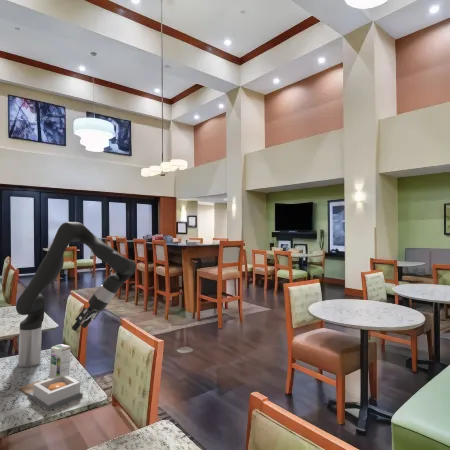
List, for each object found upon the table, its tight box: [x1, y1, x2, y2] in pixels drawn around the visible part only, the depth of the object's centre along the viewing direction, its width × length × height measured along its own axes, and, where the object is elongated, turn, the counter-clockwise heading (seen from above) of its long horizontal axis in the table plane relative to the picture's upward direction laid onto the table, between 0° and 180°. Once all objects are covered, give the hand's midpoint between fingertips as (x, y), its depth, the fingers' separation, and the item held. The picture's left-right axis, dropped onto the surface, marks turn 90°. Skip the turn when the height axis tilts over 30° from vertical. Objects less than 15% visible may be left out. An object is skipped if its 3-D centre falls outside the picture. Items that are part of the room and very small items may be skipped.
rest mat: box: [18, 380, 42, 396], centre depth 134 cm, size 8×8×1 cm
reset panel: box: [27, 374, 84, 412], centre depth 127 cm, size 16×13×6 cm
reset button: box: [48, 382, 66, 391], centre depth 127 cm, size 6×6×2 cm
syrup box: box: [49, 343, 71, 379], centre depth 141 cm, size 6×6×14 cm
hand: (78, 328), depth 142 cm, fingers open, 8 cm apart
